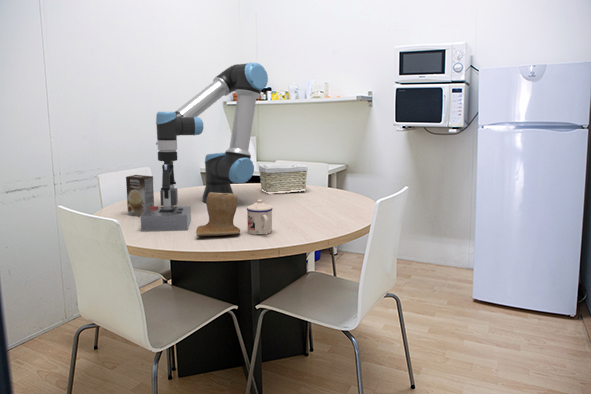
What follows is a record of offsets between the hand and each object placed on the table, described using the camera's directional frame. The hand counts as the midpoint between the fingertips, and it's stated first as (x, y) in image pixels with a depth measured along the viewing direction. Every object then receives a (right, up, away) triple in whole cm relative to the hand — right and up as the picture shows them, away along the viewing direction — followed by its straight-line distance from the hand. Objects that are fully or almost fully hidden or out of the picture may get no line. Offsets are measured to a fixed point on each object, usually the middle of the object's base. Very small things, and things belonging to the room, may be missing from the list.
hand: (169, 203), depth 185 cm
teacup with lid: (+39, -10, -24) cm, 47 cm away
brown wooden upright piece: (+24, -11, -26) cm, 37 cm away
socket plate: (+3, -8, -14) cm, 17 cm away
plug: (0, -5, +1) cm, 5 cm away
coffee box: (-12, -5, +3) cm, 14 cm away
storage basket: (+44, +5, +63) cm, 77 cm away
